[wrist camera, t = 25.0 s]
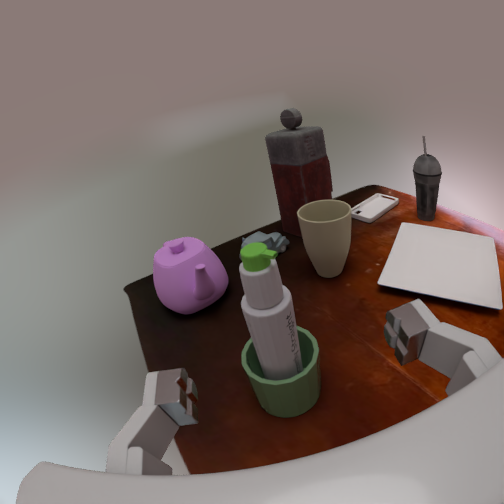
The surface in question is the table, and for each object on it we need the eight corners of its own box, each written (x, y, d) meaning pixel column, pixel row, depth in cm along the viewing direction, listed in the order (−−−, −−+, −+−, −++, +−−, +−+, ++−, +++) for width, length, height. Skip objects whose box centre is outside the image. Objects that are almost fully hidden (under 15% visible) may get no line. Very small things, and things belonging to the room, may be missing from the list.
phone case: (370, 223, 62) (399, 203, 68) (370, 218, 61) (399, 198, 67) (346, 216, 68) (377, 197, 74) (346, 211, 67) (377, 192, 73)
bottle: (284, 409, 29) (245, 273, 19) (262, 388, 32) (215, 252, 22) (312, 388, 31) (294, 245, 21) (290, 368, 34) (260, 229, 24)
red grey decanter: (340, 220, 67) (325, 103, 53) (311, 240, 61) (290, 110, 47) (312, 213, 73) (294, 106, 59) (282, 231, 68) (259, 113, 54)
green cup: (333, 380, 32) (332, 340, 28) (294, 428, 27) (286, 397, 23) (283, 356, 37) (273, 315, 33) (243, 397, 32) (226, 361, 28)
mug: (366, 272, 48) (366, 210, 42) (318, 291, 47) (311, 227, 41) (338, 245, 57) (333, 191, 51) (294, 260, 56) (285, 204, 50)
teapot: (152, 291, 57) (130, 244, 51) (204, 263, 63) (188, 215, 57) (190, 345, 42) (161, 286, 36) (257, 302, 48) (242, 242, 42)
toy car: (290, 248, 60) (286, 228, 58) (253, 271, 56) (248, 250, 54) (270, 240, 65) (266, 221, 63) (235, 260, 61) (229, 240, 59)
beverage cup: (444, 217, 57) (446, 136, 47) (429, 226, 55) (431, 140, 45) (422, 208, 63) (422, 132, 53) (406, 216, 61) (404, 135, 51)
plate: (498, 318, 30) (503, 308, 28) (376, 292, 43) (377, 282, 42) (491, 245, 44) (493, 236, 42) (401, 229, 57) (401, 221, 56)
